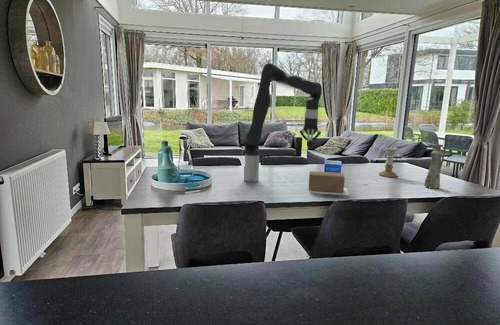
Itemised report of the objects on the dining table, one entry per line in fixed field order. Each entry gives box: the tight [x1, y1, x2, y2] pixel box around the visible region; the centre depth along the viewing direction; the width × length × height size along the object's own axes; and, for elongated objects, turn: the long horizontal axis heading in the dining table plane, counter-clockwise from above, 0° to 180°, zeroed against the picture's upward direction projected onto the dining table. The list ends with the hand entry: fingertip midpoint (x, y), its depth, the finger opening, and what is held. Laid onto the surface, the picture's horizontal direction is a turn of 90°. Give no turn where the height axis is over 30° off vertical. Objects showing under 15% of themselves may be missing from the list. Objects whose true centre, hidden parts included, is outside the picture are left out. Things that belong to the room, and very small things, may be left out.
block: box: [308, 170, 345, 193], centre depth 193 cm, size 10×10×20 cm
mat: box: [309, 187, 350, 196], centre depth 194 cm, size 22×16×1 cm
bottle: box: [423, 143, 443, 189], centre depth 204 cm, size 9×9×28 cm
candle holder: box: [378, 147, 400, 178], centre depth 235 cm, size 12×12×20 cm
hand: (309, 146), depth 191 cm, fingers closed
